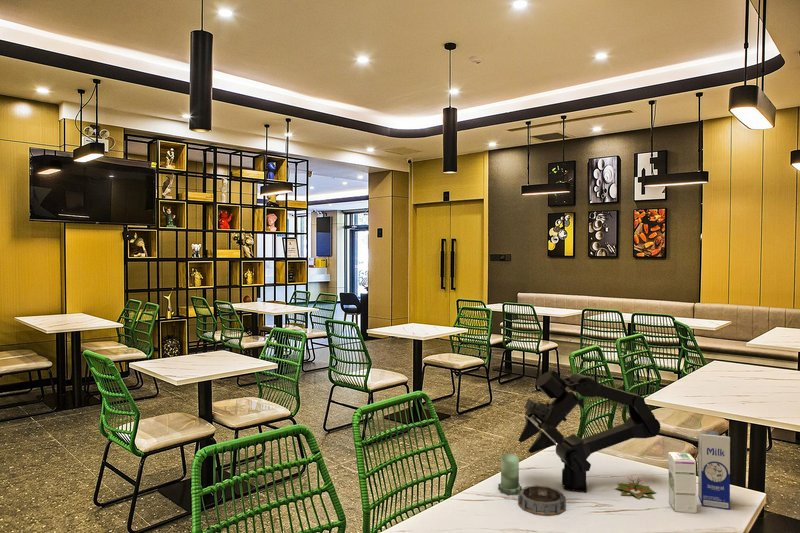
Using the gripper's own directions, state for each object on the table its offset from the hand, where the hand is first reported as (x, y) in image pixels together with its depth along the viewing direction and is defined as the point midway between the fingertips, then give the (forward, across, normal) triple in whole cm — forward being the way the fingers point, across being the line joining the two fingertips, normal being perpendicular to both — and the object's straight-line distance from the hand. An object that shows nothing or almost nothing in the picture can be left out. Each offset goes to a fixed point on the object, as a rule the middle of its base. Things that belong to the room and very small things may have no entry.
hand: (524, 446), depth 161 cm
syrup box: (-18, +16, +37) cm, 44 cm away
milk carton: (-26, +14, +45) cm, 53 cm away
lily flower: (-13, +5, +32) cm, 35 cm away
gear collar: (+8, +10, +10) cm, 16 cm away
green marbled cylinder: (+12, 0, +6) cm, 14 cm away
